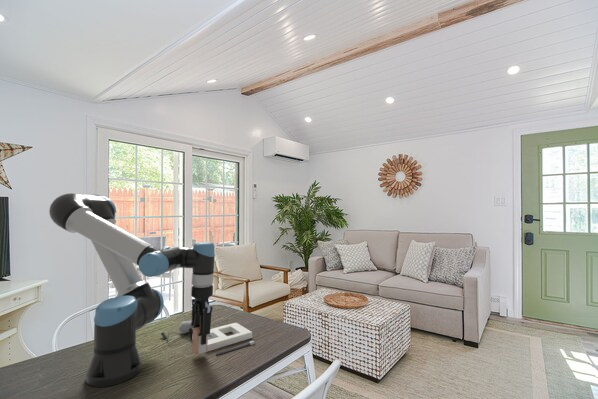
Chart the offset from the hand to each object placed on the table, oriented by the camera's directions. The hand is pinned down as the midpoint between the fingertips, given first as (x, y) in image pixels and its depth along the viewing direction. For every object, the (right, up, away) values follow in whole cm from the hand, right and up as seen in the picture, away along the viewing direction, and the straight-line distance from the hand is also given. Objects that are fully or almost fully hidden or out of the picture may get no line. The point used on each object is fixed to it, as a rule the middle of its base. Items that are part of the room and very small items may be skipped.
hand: (199, 350), depth 109 cm
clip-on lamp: (-12, -4, +19) cm, 23 cm away
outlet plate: (+4, -3, +16) cm, 17 cm away
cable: (+11, -3, +6) cm, 13 cm away
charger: (0, 0, 0) cm, 0 cm away
